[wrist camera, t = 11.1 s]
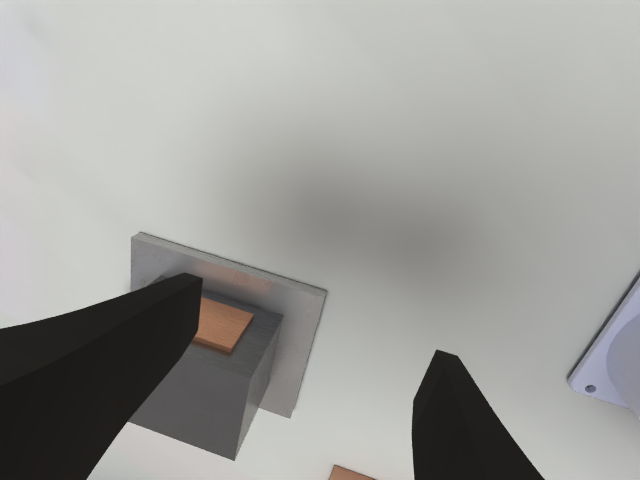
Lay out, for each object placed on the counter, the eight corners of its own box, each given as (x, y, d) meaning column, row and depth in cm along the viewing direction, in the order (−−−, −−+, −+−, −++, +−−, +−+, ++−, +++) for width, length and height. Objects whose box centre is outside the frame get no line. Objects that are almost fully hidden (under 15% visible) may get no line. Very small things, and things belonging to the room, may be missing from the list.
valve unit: (326, 291, 21) (300, 360, 16) (293, 409, 25) (263, 496, 20) (134, 230, 22) (48, 275, 17) (132, 353, 27) (63, 420, 21)
